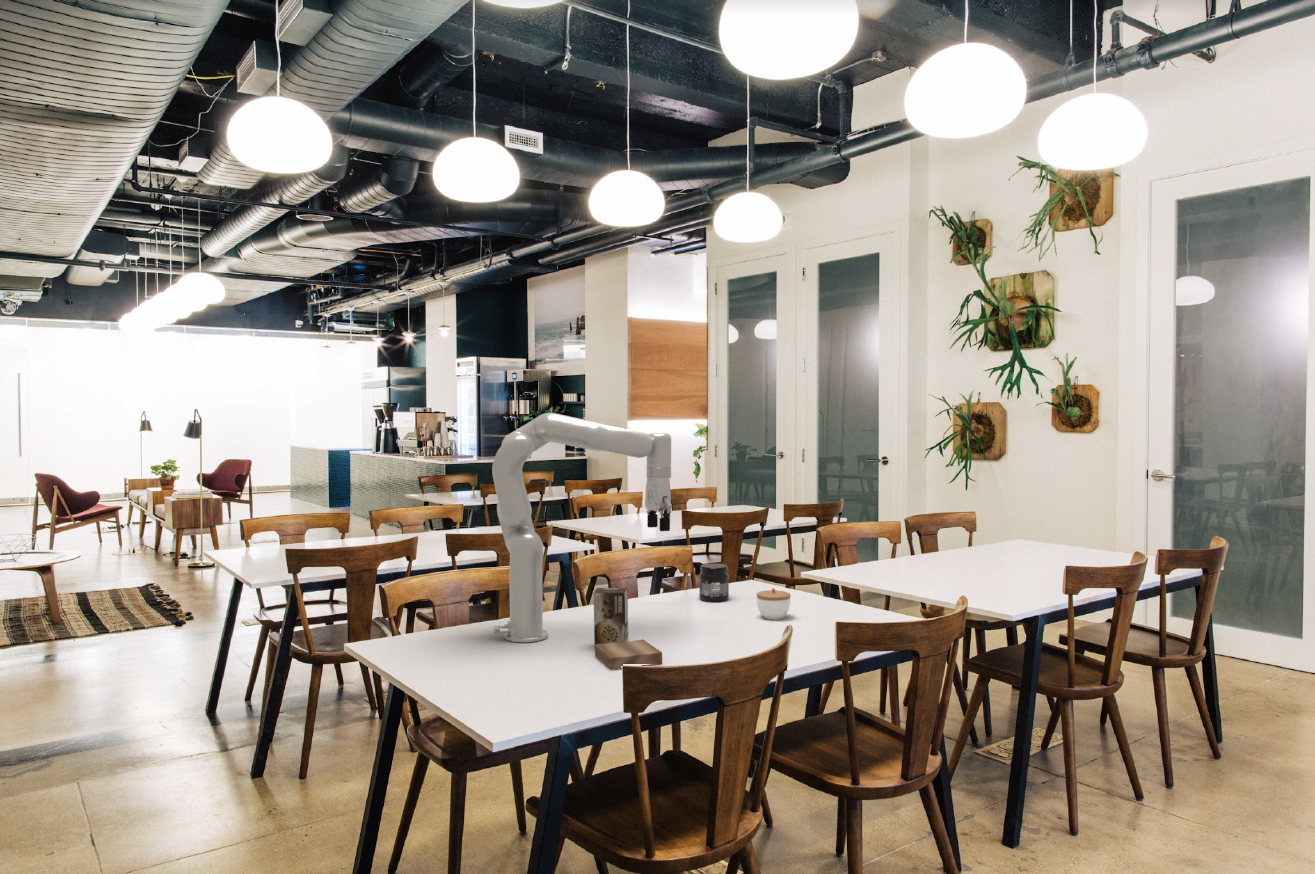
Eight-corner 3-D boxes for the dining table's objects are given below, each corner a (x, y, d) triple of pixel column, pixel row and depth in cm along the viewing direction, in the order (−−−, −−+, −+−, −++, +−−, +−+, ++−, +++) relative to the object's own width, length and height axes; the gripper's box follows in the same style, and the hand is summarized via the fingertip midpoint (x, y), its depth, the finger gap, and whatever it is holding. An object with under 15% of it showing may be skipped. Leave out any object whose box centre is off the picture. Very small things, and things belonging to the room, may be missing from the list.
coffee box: (629, 644, 239) (628, 587, 239) (626, 650, 233) (625, 592, 233) (597, 643, 240) (597, 587, 240) (593, 649, 234) (593, 591, 234)
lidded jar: (792, 621, 265) (792, 591, 265) (758, 621, 265) (758, 591, 265) (788, 613, 276) (788, 585, 275) (755, 613, 276) (755, 585, 276)
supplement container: (714, 595, 305) (714, 562, 305) (735, 599, 297) (735, 565, 297) (693, 599, 299) (692, 565, 298) (713, 604, 290) (713, 569, 290)
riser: (611, 669, 215) (611, 658, 215) (595, 655, 228) (594, 644, 228) (662, 663, 220) (662, 652, 220) (643, 650, 233) (643, 639, 233)
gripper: (637, 471, 264) (636, 526, 265) (658, 475, 248) (658, 533, 249) (659, 471, 267) (658, 525, 268) (681, 474, 251) (681, 532, 252)
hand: (658, 529), depth 258 cm, fingers open, 9 cm apart
